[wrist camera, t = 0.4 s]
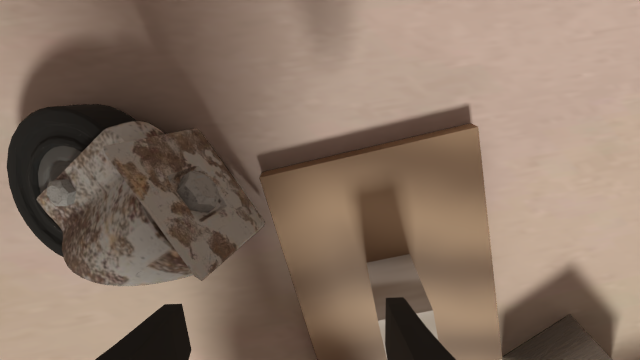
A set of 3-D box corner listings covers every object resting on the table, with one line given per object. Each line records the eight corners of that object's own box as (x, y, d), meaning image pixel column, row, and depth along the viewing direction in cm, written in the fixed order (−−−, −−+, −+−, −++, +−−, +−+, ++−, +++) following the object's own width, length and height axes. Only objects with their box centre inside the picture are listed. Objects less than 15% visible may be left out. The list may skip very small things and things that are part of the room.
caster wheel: (61, 152, 24) (155, 53, 20) (164, 291, 24) (273, 218, 21) (-69, 176, 17) (35, 38, 14) (74, 362, 18) (209, 276, 14)
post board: (495, 347, 25) (545, 433, 19) (326, 377, 26) (327, 467, 20) (470, 123, 20) (528, 151, 14) (262, 172, 21) (238, 215, 15)
